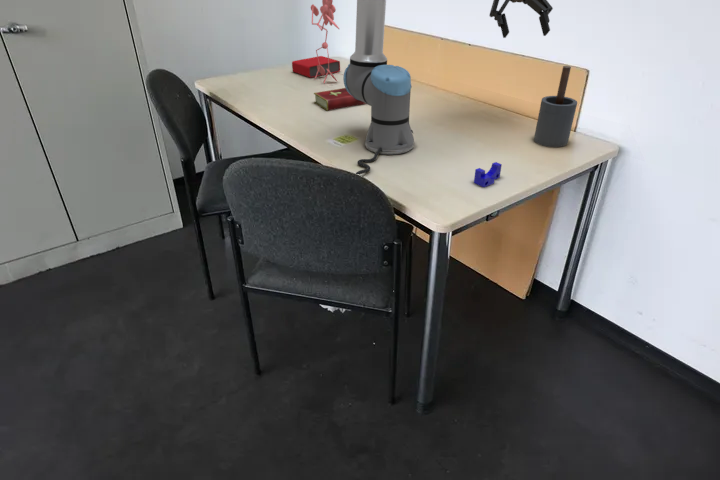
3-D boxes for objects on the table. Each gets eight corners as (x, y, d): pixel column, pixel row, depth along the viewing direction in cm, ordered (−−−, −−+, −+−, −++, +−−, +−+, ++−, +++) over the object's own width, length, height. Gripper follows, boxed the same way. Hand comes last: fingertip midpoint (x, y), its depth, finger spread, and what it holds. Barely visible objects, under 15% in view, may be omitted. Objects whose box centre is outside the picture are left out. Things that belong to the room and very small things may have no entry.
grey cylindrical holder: (568, 148, 148) (578, 107, 141) (533, 145, 151) (541, 104, 144) (566, 137, 156) (576, 97, 149) (534, 134, 159) (541, 94, 152)
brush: (559, 141, 151) (575, 69, 139) (544, 139, 152) (559, 68, 140) (558, 136, 154) (574, 65, 142) (544, 135, 156) (558, 64, 144)
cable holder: (483, 187, 127) (485, 173, 125) (473, 183, 130) (475, 169, 127) (503, 179, 131) (506, 166, 129) (493, 175, 133) (495, 161, 131)
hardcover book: (375, 102, 190) (375, 91, 187) (327, 111, 181) (326, 100, 179) (360, 94, 198) (360, 84, 196) (314, 102, 190) (313, 92, 188)
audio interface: (322, 66, 240) (322, 55, 237) (340, 71, 230) (339, 60, 228) (292, 72, 230) (291, 61, 228) (309, 78, 221) (308, 66, 218)
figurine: (330, 88, 207) (326, -2, 188) (306, 75, 226) (300, -9, 207) (361, 83, 213) (360, -5, 194) (335, 70, 232) (332, -11, 213)
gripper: (541, -18, 158) (556, 39, 154) (470, -16, 154) (484, 43, 150) (554, -35, 151) (570, 24, 147) (479, -34, 147) (494, 27, 142)
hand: (526, 34), depth 148 cm, fingers open, 13 cm apart
